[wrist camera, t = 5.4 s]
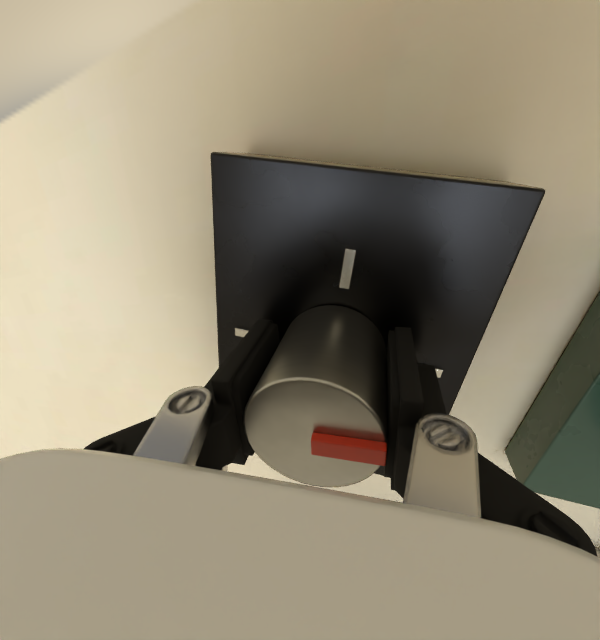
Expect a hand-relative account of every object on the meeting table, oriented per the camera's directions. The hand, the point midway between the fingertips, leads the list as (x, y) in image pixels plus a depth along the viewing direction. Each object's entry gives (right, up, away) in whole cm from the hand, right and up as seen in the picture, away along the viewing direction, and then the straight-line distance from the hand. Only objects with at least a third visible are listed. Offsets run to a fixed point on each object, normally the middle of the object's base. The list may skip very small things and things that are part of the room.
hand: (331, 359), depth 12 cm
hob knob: (0, 0, +1) cm, 1 cm away
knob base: (+1, +2, +3) cm, 4 cm away
